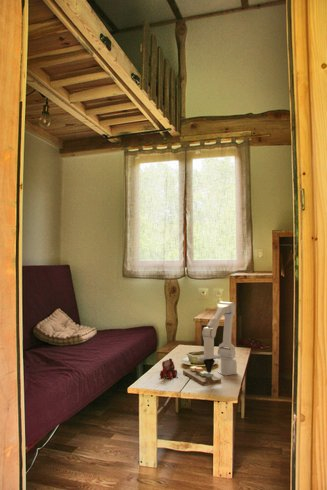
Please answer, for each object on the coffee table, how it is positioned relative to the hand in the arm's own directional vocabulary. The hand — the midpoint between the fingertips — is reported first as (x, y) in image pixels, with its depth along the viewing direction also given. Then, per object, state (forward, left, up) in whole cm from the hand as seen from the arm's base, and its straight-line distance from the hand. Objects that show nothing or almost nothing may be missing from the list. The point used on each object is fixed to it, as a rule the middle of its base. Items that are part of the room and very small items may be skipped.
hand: (208, 372), depth 228 cm
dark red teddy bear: (+17, -19, -6) cm, 26 cm away
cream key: (0, -18, -5) cm, 19 cm away
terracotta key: (0, -12, -4) cm, 13 cm away
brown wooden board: (0, -9, -6) cm, 11 cm away
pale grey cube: (0, 0, -4) cm, 4 cm away
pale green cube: (0, -6, -5) cm, 8 cm away
